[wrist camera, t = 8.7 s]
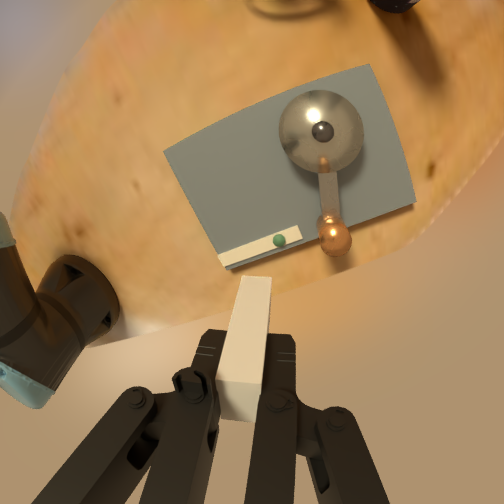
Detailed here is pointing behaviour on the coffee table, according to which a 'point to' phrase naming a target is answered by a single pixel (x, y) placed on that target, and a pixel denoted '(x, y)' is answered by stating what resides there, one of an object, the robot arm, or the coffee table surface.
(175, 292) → the coffee table surface
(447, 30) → the coffee table surface
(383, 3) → the beverage can
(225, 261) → the level board
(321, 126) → the cam lever
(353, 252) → the coffee table surface
